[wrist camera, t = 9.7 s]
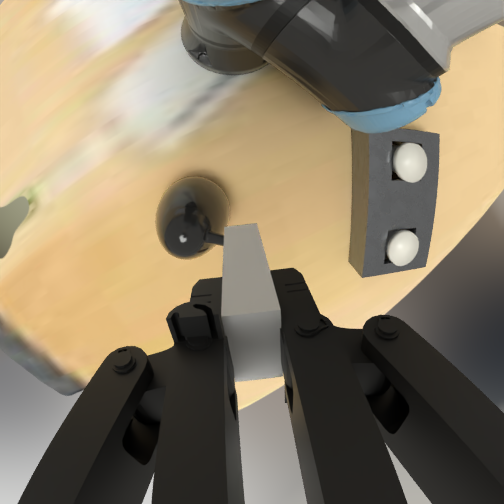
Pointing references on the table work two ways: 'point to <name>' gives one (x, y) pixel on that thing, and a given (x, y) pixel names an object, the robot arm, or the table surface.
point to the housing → (389, 200)
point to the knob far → (401, 246)
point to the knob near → (409, 161)
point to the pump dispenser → (192, 217)
